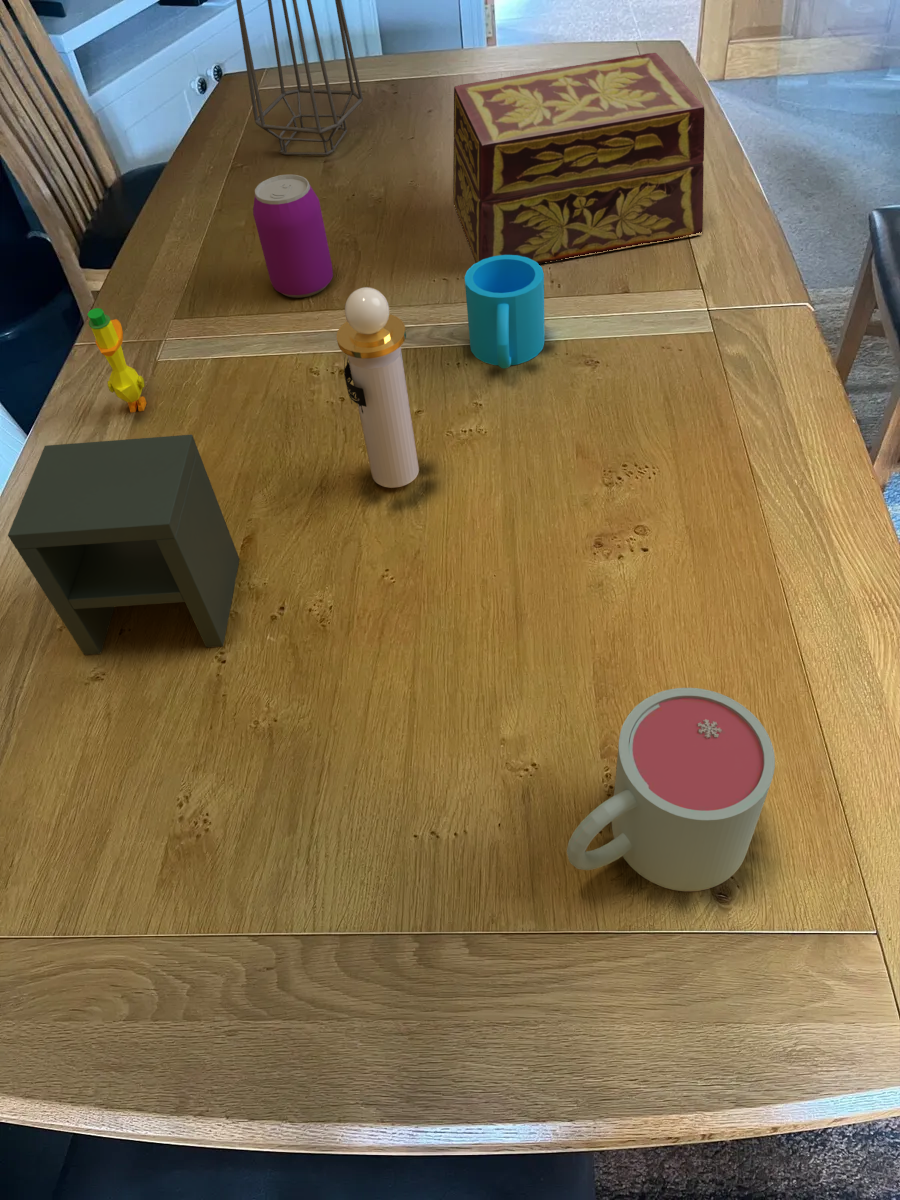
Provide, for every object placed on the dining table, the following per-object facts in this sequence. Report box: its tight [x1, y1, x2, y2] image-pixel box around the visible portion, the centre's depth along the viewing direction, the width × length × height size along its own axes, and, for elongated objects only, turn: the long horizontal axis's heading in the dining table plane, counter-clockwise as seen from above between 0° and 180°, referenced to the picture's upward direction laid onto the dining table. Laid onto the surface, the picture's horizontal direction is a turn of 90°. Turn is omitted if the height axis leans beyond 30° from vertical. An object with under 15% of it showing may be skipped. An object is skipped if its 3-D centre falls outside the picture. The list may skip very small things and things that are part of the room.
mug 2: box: [566, 687, 776, 892], centre depth 60 cm, size 14×9×10 cm
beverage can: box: [252, 174, 334, 299], centre depth 110 cm, size 8×8×12 cm
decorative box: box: [452, 52, 706, 265], centre depth 113 cm, size 28×19×15 cm
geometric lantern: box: [235, 0, 364, 156], centre depth 126 cm, size 16×16×35 cm
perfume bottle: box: [336, 286, 420, 489], centre depth 82 cm, size 6×6×20 cm
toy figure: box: [87, 307, 148, 414], centre depth 96 cm, size 7×4×12 cm, turn 8°
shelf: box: [7, 434, 240, 656], centre depth 76 cm, size 12×10×14 cm
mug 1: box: [464, 255, 546, 369], centre depth 98 cm, size 12×8×8 cm
